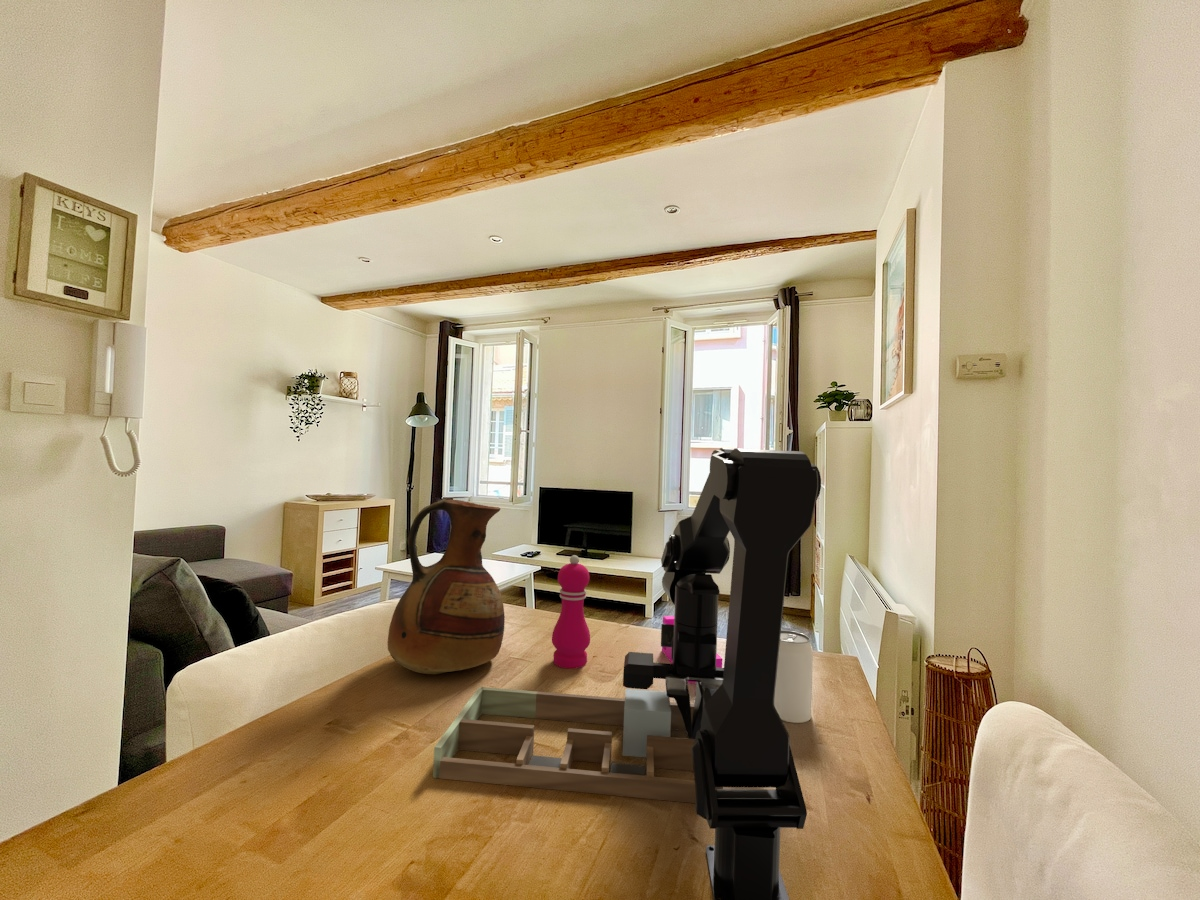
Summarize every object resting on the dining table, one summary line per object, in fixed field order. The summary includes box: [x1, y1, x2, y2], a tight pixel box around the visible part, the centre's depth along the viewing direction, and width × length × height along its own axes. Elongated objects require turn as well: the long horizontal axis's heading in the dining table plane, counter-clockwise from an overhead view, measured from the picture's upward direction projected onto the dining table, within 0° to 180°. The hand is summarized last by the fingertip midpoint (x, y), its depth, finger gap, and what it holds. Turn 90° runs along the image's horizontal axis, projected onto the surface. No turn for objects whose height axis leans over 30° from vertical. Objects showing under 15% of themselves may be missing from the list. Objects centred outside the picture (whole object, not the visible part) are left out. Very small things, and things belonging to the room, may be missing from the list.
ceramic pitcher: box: [387, 498, 506, 675], centre depth 93 cm, size 20×20×30 cm
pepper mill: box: [551, 554, 591, 670], centre depth 95 cm, size 7×7×20 cm
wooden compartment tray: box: [432, 686, 724, 804], centre depth 66 cm, size 16×33×4 cm, turn 85°
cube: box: [622, 688, 671, 758], centre depth 68 cm, size 6×6×6 cm
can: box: [774, 629, 814, 724], centre depth 78 cm, size 6×6×12 cm
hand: (691, 739), depth 68 cm, fingers closed
